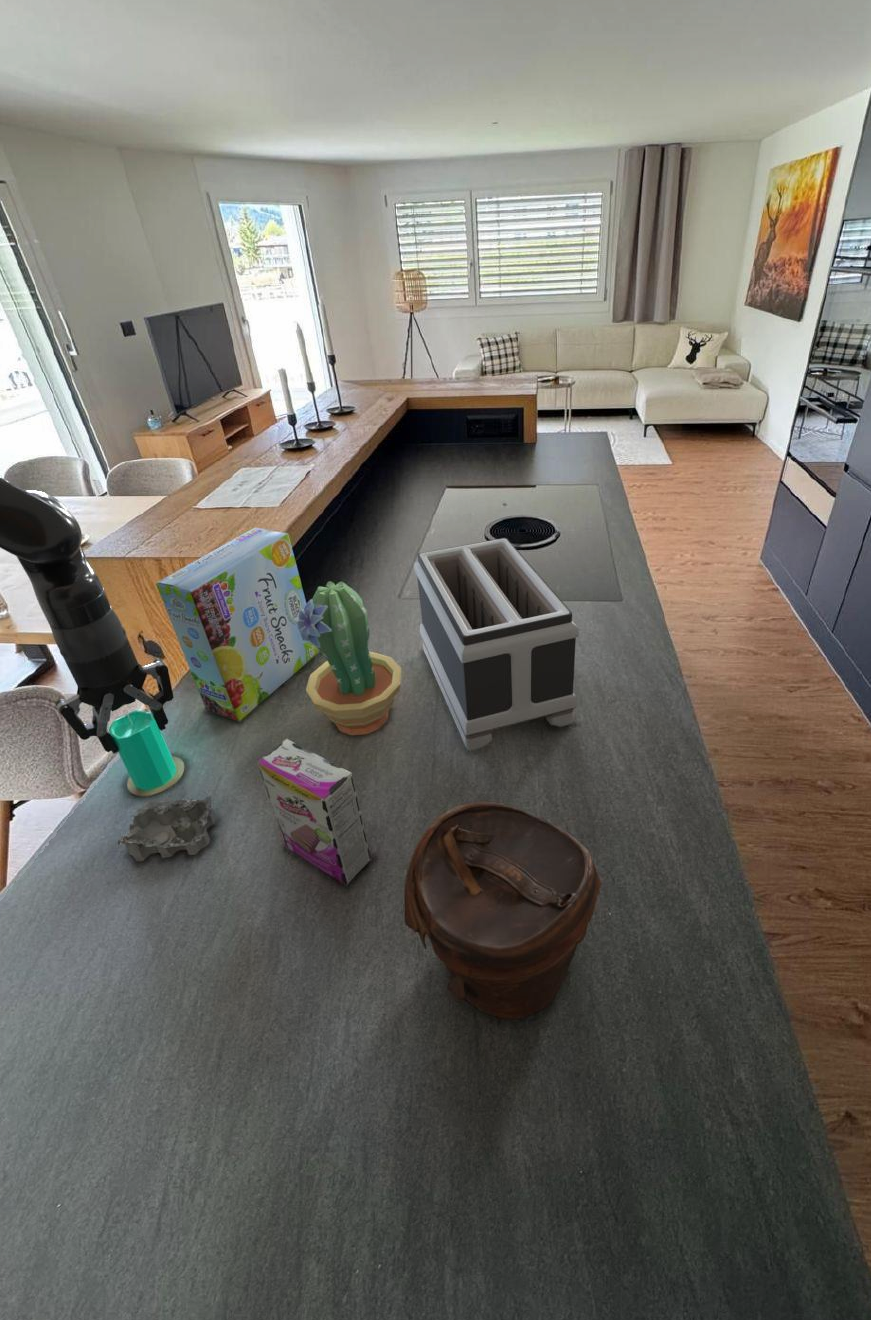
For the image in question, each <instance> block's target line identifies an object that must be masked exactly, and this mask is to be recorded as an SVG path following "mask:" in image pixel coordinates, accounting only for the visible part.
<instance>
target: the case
mask: <svg viewBox="0 0 871 1320" xmlns="http://www.w3.org/2000/svg"><path fill="white" fill-rule="evenodd" d="M598 873H599V872H598V870H597V868H596V865H595V863H594V861H593V858H592V855H591V853H590V852H589V850H588V849H587V848H586V847H585V845H583V844H582V843H581V842H580V841H579V840H578V839H577V838H575V837H574V836H573V835H572V834H571V833H569V832H568V831H566V830H565V829H563V828H561V827H560V826H558V825H557V824H555V823H553V822H552V821H550V820H548V819H547V818H544V817H541V816H539V815H536V814H533V813H531V812H529V811H526V810H524V809H522V808H518V807H515V806H512V805H507V804H504V803H500V802H493V801H475V802H474V801H473V802H467V803H464V804H462V805H458V806H456V807H453V808H451V809H450V810H447V811H445V812H444V813H442V814H441V815H440V816H438V817H437V818H436V819H435V820H434V821H433V822H432V823H431V824H430V825H429V827H428V828H427V829H426V830H425V832H424V833H423V835H422V836H421V838H420V839H419V841H418V843H417V845H416V846H415V847H414V851H413V853H412V856H411V858H410V862H409V866H408V869H407V872H406V876H405V883H404V891H403V897H404V898H403V902H404V903H403V904H404V905H403V906H404V924H405V925H406V926H407V928H408V929H410V930H412V931H413V932H414V933H417V934H418V936H419V939H420V940H421V943H422V946H423V948H424V949H425V950H427V944H426V936H427V938H428V939H429V941H430V944H431V947H432V950H433V953H434V954H435V956H436V957H437V959H439V960H440V961H441V963H443V964H444V966H445V969H446V970H447V972H448V974H449V976H450V977H451V979H450V980H449V983H448V985H447V991H449V992H450V993H451V995H452V996H453V997H455V998H456V1000H458V1001H460V1002H463V1001H464V1000H465V999H467V1001H468V1002H470V1004H471V1005H473V1006H475V1008H477V1009H478V1010H481V1011H482V1012H485V1013H486V1014H488V1015H491V1016H494V1017H497V1018H502V1019H520V1018H524V1017H529V1016H531V1015H533V1014H535V1013H537V1012H539V1011H540V1010H543V1009H544V1008H545V1007H546V1006H548V1005H549V1004H550V1003H551V1002H552V1000H554V998H555V997H556V995H557V994H558V992H559V990H560V988H561V986H562V984H563V982H564V979H565V977H566V974H567V972H568V970H569V968H570V966H571V963H572V960H573V958H574V956H575V954H576V951H577V948H578V947H579V945H580V944H581V943H582V942H583V941H584V939H585V938H586V935H587V929H588V927H589V923H590V922H591V920H592V918H593V915H594V912H595V909H596V904H597V902H598V896H599V895H600V890H601V886H602V880H601V878H600V876H599V874H598Z"/></svg>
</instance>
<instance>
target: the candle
mask: <svg viewBox="0 0 871 1320" xmlns="http://www.w3.org/2000/svg"><path fill="white" fill-rule="evenodd" d="M108 731H109V733H110V735H111V737H112V739H113V741H114V743H115V745H116V747H117V749H118V751H119V752H117V753H118V754H119V758H120V759H121V761H122V763H123V765H124V767H125V768H126V771H127V773H128V775H129V777H131V779H132V781H133V783H134V785H135V787H137V788H139V789H141V790H152V789H155V788H157V787H160V786H163V785H164V784H166V783H167V782H168V781H169V780H171V779H172V778H173V776H174V774H175V772H176V767H175V763H174V761H173V759H172V756H173V755H172V753H171V752H170V750H169V747H168V745H167V743H166V740H165V738H164V736H163V734H162V731H161V730H160V729H159V726H158V724H157V722H156V719H155V717H154V715H153V713H151V711H145V710H133V711H131V712H128V713H127V714H125V715H123V716H121V717H119V718H116V719H114V720H113V721H112V722H111V724H110V726H109V727H108Z"/></svg>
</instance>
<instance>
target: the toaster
mask: <svg viewBox="0 0 871 1320" xmlns="http://www.w3.org/2000/svg"><path fill="white" fill-rule="evenodd" d="M416 556H417V561H415V562H414V564H413V566H414V572H415V574H416V578H417V579H416V580H417V587H418V588H417V589H418V595H419V597H418V598H419V605H420V613H421V622H420V623H419V624H420V625H419V632H420V636H421V640H422V648H423V652H424V654H425V657H426V659H427V661H428V664H429V666H430V668H431V670H432V672H433V675H434V678H435V680H436V682H437V684H438V687H439V689H440V691H441V694H442V697H443V698H444V700H445V703H446V705H447V707H448V709H449V712H450V714H451V716H452V719H453V721H454V723H455V725H456V728H457V730H458V733H459V735H460V736H461V737H460V738H461V740H462V741H463V744H464V746H465V749H466V750H468V751H474V750H479V749H483V748H485V746H486V745H488V744H489V743H490V742H492V740H493V734H492V732H493V730H497V729H502V728H506V727H510V726H513V725H518V724H521V723H525V722H529V721H533V720H537V719H540V718H545V719H546V720H547V722H548V723H549V725H550V726H554V727H555V726H556V727H558V728H561V727H566V726H569V725H571V724H573V723H574V714H575V713H574V712H575V709H576V708H577V707H578V700H577V697H576V695H575V693H574V685H575V681H574V680H575V659H576V643H577V642H576V641H577V638H578V637H579V627H578V626H577V625H576V623H575V622H574V621H573V612H572V611H571V610H570V608H568V606H567V605H566V604H565V602H563V601H562V600H561V598H560V597H559V596H558V595H557V594H556V593H555V591H554V590H553V589H552V588H551V587H550V586H549V584H548V583H547V582H546V581H545V580H544V579H543V578H542V577H541V575H539V573H538V572H537V571H536V569H534V568H533V567H532V565H531V564H530V563H529V562H528V561H527V560H526V559H525V557H524V556H523V555H522V554H521V553H520V551H518V549H517V548H516V546H514V545H513V543H512V542H511V541H510V539H508V538H507V537H501V538H496V539H495V538H494V539H490V540H484V541H479V542H474V543H473V542H472V543H468V544H462V545H456V546H452V547H445V548H439V549H435V550H427V551H424V552H418V553H417V555H416Z"/></svg>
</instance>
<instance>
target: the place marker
mask: <svg viewBox="0 0 871 1320" xmlns="http://www.w3.org/2000/svg"><path fill="white" fill-rule="evenodd" d="M171 756H172V759H173V761H174V763H175V767H176V772H175V774H174V776H173V778H172V779H171V780H169V781H168V782H167V783H166V784H164V785H163V786H160V787H157V788H155V789H152V790H141V789H139V788H137V787H135V785H134V783H133V781H132V779H131V777H130V776H129V777H128V779H127V782H126V786H127V790H128V791H129V793H131V795H134V796H138V797H149V796H150V797H151V796H154V795H159V794H160V793H163V792H165V791H167V790H168V789H170V788H172V787H173V786H174V785H175V784H177V782H178V781H180V780H181V778H182V776H183V775H184V772H185V763H184V761H183V760H182V759H181V758H179V757H178V756H174V755H171Z"/></svg>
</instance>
